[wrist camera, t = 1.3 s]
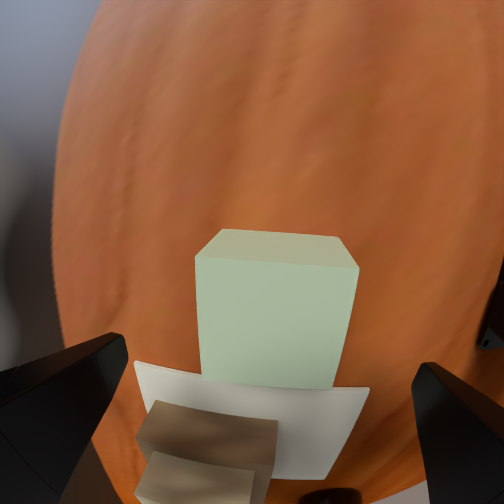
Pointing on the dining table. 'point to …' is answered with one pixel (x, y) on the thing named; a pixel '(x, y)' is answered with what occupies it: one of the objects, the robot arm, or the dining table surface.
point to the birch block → (192, 482)
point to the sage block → (273, 308)
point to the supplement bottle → (332, 497)
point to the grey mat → (268, 414)
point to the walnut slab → (212, 440)
